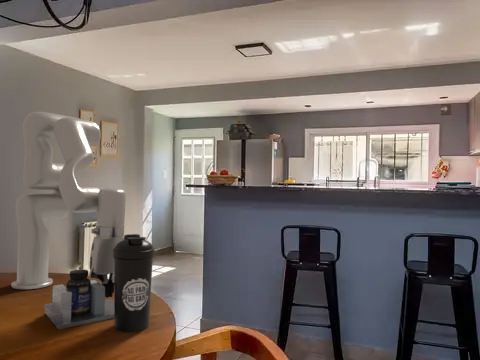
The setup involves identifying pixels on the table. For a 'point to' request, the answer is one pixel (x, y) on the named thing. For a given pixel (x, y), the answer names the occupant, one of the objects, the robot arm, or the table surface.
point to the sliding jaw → (97, 298)
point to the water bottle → (132, 283)
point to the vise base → (79, 317)
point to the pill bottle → (79, 291)
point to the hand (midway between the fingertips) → (107, 295)
